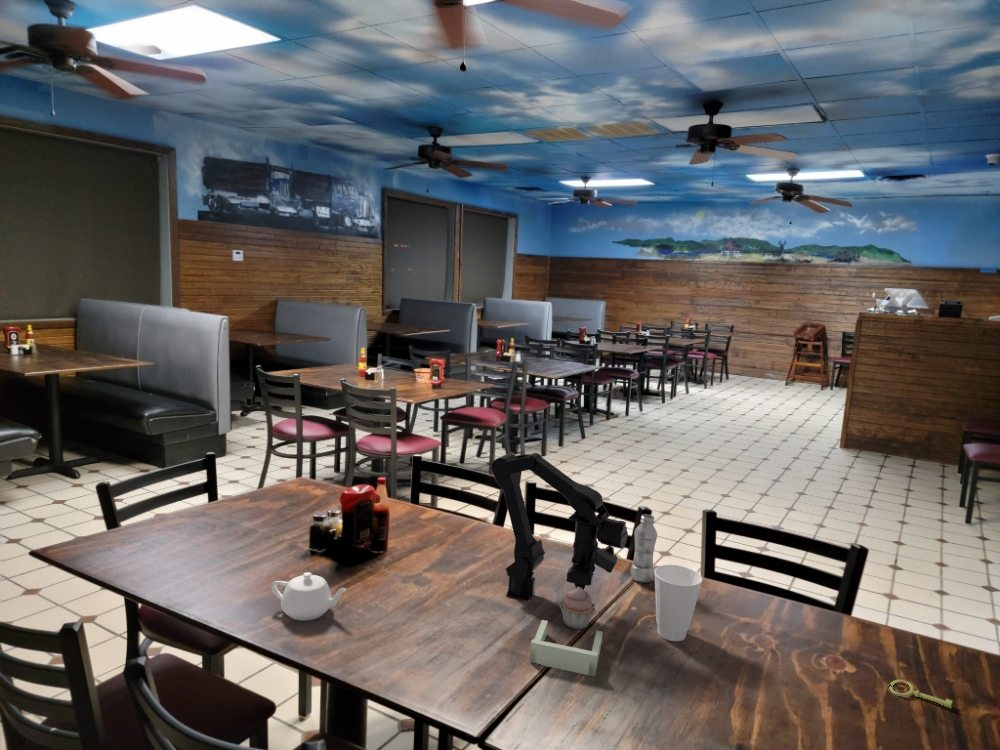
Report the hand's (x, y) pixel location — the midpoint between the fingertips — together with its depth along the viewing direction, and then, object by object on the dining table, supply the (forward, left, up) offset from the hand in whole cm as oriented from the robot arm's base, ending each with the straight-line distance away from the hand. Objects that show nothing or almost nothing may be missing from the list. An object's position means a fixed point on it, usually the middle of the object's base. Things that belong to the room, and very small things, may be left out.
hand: (580, 594), depth 176 cm
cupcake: (0, -6, -5) cm, 8 cm away
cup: (+24, -2, -5) cm, 25 cm away
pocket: (0, -20, -5) cm, 20 cm away
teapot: (-65, -26, -5) cm, 70 cm away
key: (+78, -9, -6) cm, 79 cm away
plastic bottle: (+15, +26, -5) cm, 31 cm away
